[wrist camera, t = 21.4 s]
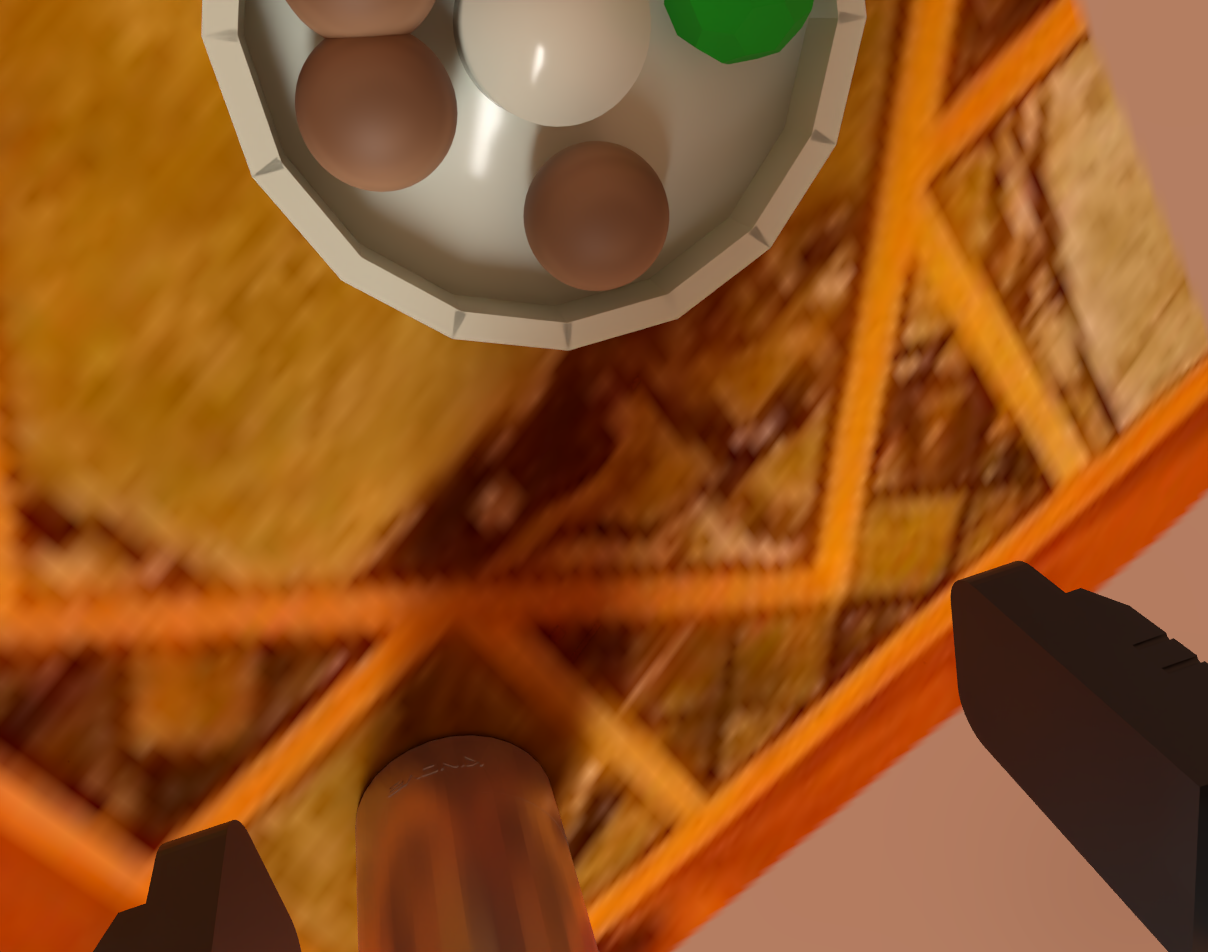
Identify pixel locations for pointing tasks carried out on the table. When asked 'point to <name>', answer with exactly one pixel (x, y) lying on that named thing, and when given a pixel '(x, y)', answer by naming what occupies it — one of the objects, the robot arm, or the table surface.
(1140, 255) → the table surface
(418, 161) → the joined brown beads
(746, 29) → the polyhedron
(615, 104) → the tray
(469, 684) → the table surface
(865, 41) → the table surface
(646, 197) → the walnut bead
